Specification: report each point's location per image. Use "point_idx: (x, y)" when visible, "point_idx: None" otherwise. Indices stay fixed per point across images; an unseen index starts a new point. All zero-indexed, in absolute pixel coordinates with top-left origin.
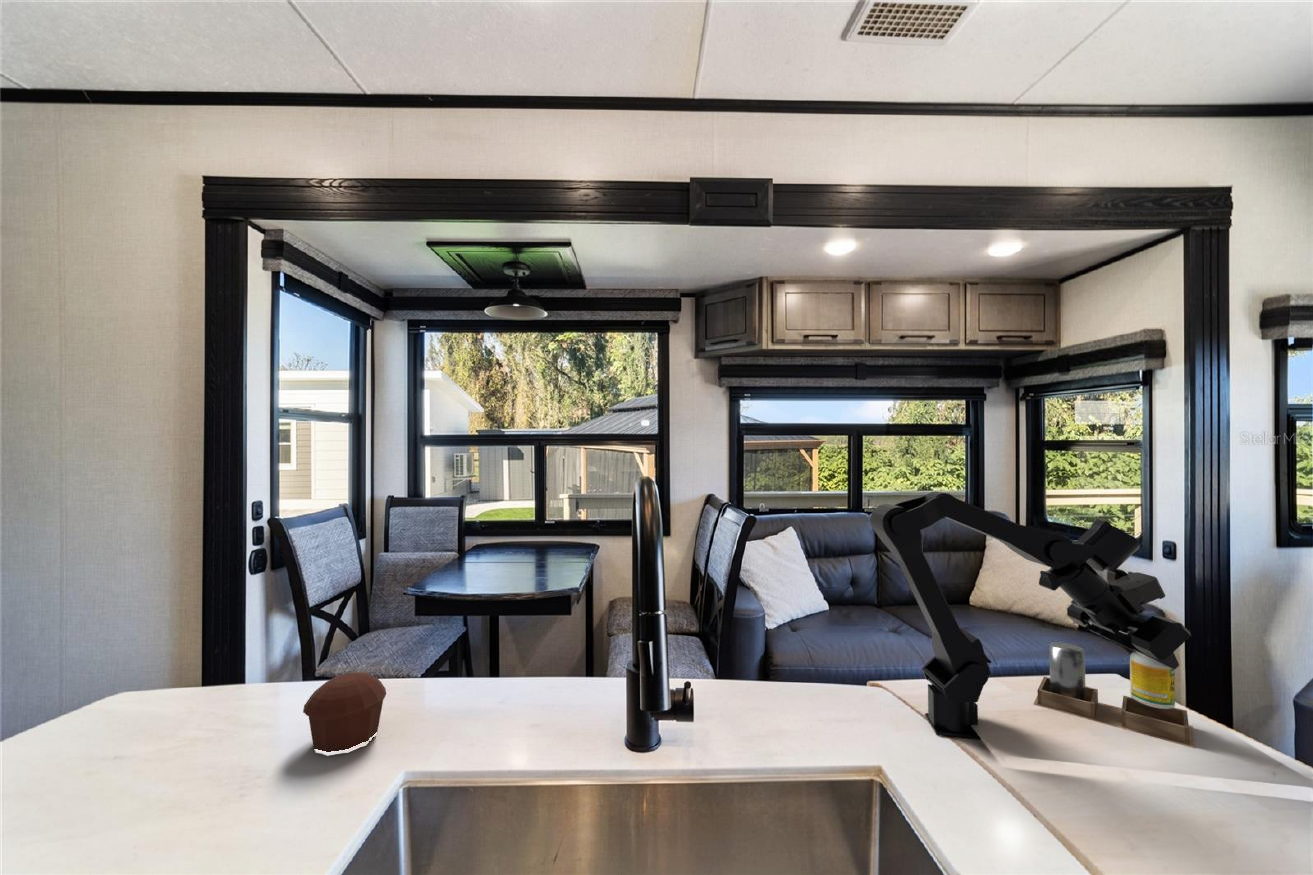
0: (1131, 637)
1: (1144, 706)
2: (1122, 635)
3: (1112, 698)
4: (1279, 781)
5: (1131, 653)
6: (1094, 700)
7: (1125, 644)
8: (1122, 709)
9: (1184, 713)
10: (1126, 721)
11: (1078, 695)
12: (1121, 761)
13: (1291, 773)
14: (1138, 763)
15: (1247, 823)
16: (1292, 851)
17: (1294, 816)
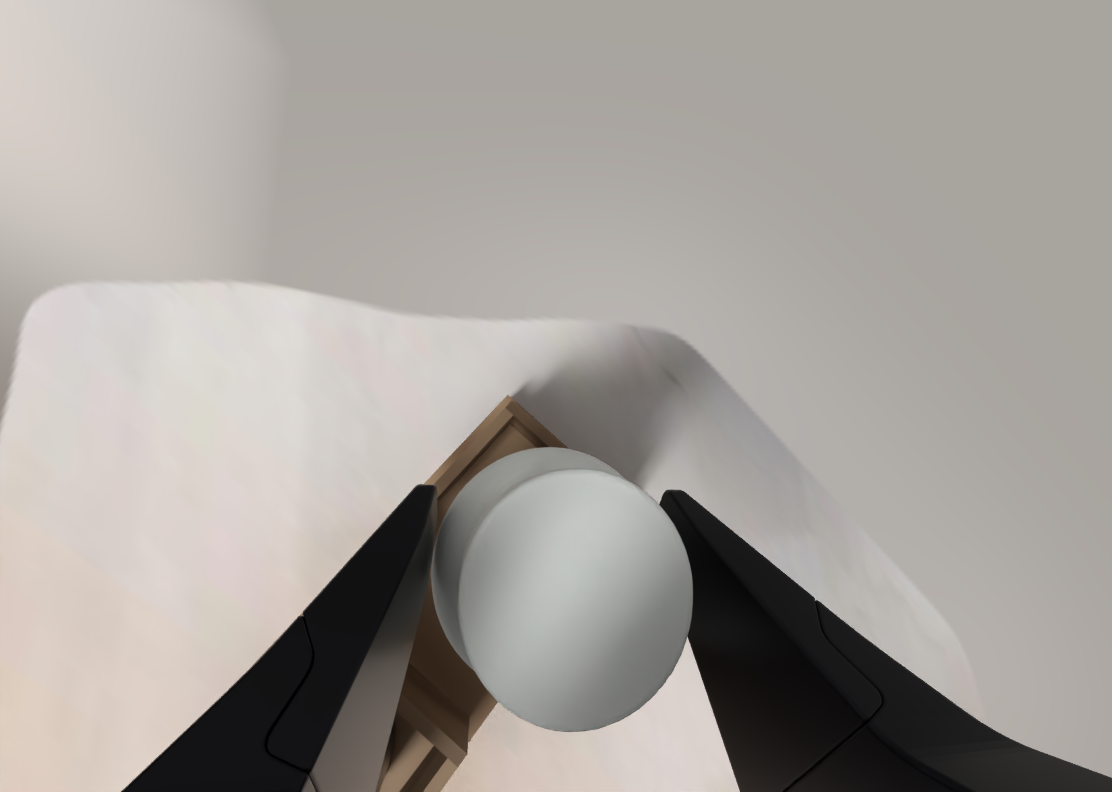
0: (383, 650)
1: (442, 494)
2: (359, 775)
3: (240, 441)
4: (702, 399)
5: (468, 660)
6: (428, 721)
7: (395, 691)
8: None
9: (534, 429)
10: None
11: (380, 778)
12: (666, 759)
13: (666, 338)
14: (670, 708)
15: (870, 634)
16: (934, 624)
17: (823, 502)
